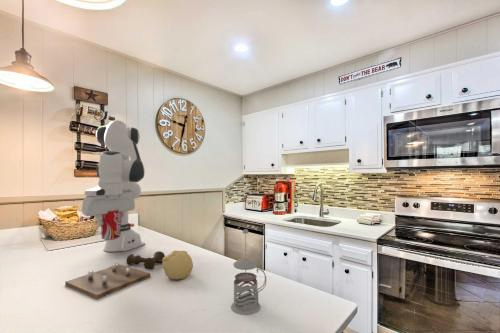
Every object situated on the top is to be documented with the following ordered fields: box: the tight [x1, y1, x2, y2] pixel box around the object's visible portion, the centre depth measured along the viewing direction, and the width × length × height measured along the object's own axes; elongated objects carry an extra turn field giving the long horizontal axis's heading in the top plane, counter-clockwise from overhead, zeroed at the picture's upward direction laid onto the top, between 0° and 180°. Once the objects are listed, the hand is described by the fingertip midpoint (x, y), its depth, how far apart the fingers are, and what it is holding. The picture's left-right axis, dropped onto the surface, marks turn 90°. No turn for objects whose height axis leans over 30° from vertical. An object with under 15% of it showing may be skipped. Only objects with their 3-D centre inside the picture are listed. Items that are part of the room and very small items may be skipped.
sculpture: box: [161, 250, 194, 280], centre depth 106 cm, size 12×12×11 cm
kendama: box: [126, 251, 166, 271], centre depth 119 cm, size 6×10×20 cm
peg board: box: [64, 263, 151, 300], centre depth 102 cm, size 22×22×4 cm
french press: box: [230, 228, 267, 316], centre depth 82 cm, size 10×12×25 cm
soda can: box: [100, 209, 121, 241], centre depth 103 cm, size 7×7×12 cm
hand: (110, 224), depth 103 cm, fingers closed on soda can, 7 cm apart
